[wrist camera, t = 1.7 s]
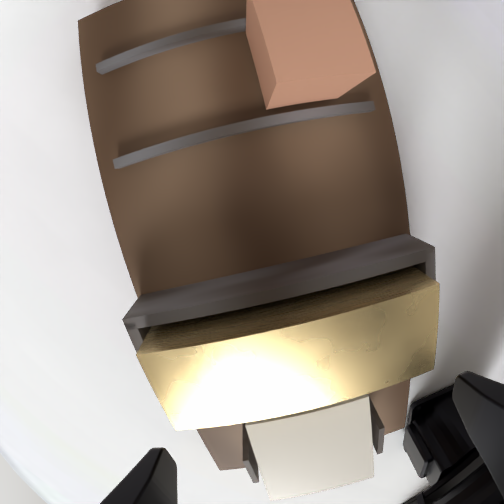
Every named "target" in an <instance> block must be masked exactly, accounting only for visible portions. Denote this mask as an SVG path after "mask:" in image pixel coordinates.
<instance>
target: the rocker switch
mask: <svg viewBox="0 0 504 504" xmlns="http://www.w3.org/2000/svg"><path fill="white" fill-rule="evenodd" d="M245 427H246V430H247V433H248V436H249V439H250V442H251V446H252V449H253V452H254V455H255V458H256V461H257V464H258V467H259V470H260V473H261V476H262V479H263V482H264V484H265V487H266V490H267V493H268V496H269V499H270V501H274V500H281V499H287V498H293V497H298V496H303V495H308V494H313V493H317V492H322V491H326V490H330V489H334V488H338V487H342V486H345V485H349V484H352V483H356V482H359V481H362V480H365V479H369V478H372V477H374V463H373V442H372V427H371V414H370V402H369V396H368V394H365V395H362V396H359V397H355V398H352V399H348V400H345V401H342V402H338V403H334V404H331V405H327V406H323V407H319V408H315V409H311V410H307V411H302V412H298V413H293V414H289V415H284V416H279V417H274V418H269V419H263V420H258V421H252V422H246V423H245Z"/></svg>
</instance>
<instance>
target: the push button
mask: <svg viewBox="0 0 504 504" xmlns="http://www.w3.org/2000/svg"><path fill="white" fill-rule="evenodd" d="M438 316H439V283H438V282H436V281H435V280H433V279H432V278H430V277H429V276H427V275H426V274H424V273H423V272H421V271H420V270H418V269H417V268H415V267H414V266H409V267H406V268H402V269H399V270H395V271H392V272H388V273H385V274H381V275H377V276H374V277H370V278H366V279H363V280H359V281H355V282H351V283H348V284H344V285H340V286H336V287H332V288H328V289H324V290H320V291H316V292H312V293H308V294H304V295H300V296H296V297H291V298H287V299H283V300H279V301H274V302H270V303H265V304H261V305H256V306H252V307H247V308H243V309H238V310H233V311H228V312H224V313H219V314H214V315H209V316H204V317H199V318H194V319H188V320H183V321H178V322H172V323H167V324H161V325H156V326H151V328H150V329H149V331H148V333H147V335H146V337H145V339H144V341H143V343H142V344H141V346H140V348H139V350H138V352H137V354H136V356H137V358H138V360H139V362H140V364H141V366H142V368H143V370H144V373H145V375H146V377H147V379H148V381H149V383H150V385H151V386H152V388H153V390H154V392H155V394H156V396H157V398H158V400H159V402H160V404H161V405H162V407H163V409H164V411H165V413H166V414H167V416H168V418H169V420H170V422H171V423H172V425H173V427H174V428H175V430H186V429H197V428H207V427H216V426H224V425H232V424H239V423H245V422H252V421H258V420H263V419H269V418H274V417H279V416H284V415H289V414H293V413H298V412H302V411H307V410H311V409H315V408H319V407H323V406H327V405H331V404H334V403H338V402H342V401H345V400H348V399H352V398H355V397H359V396H362V395H365V394H368V393H371V392H374V391H377V390H380V389H383V388H386V387H389V386H392V385H395V384H397V383H400V382H403V381H405V380H408V379H411V378H413V377H416V376H418V375H421V374H423V373H426V372H428V371H431V370H433V369H434V363H435V354H436V344H437V332H438Z"/></svg>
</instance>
